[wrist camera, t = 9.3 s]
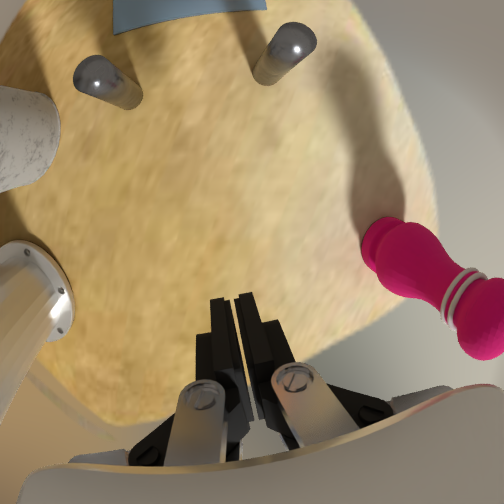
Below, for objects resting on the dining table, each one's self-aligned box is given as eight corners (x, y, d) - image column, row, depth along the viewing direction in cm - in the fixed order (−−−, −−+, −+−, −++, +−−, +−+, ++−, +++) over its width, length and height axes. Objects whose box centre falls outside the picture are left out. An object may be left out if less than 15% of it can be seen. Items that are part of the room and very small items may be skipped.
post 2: (254, 86, 21) (280, 55, 13) (250, 62, 20) (274, 21, 12) (281, 84, 21) (319, 56, 13) (277, 61, 20) (312, 23, 12)
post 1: (118, 112, 20) (74, 98, 12) (115, 88, 19) (72, 63, 11) (144, 105, 20) (110, 84, 12) (141, 81, 19) (108, 49, 11)
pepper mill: (364, 207, 26) (535, 305, 8) (414, 215, 28) (560, 295, 9) (350, 273, 29) (475, 408, 11) (399, 274, 30) (518, 378, 12)
